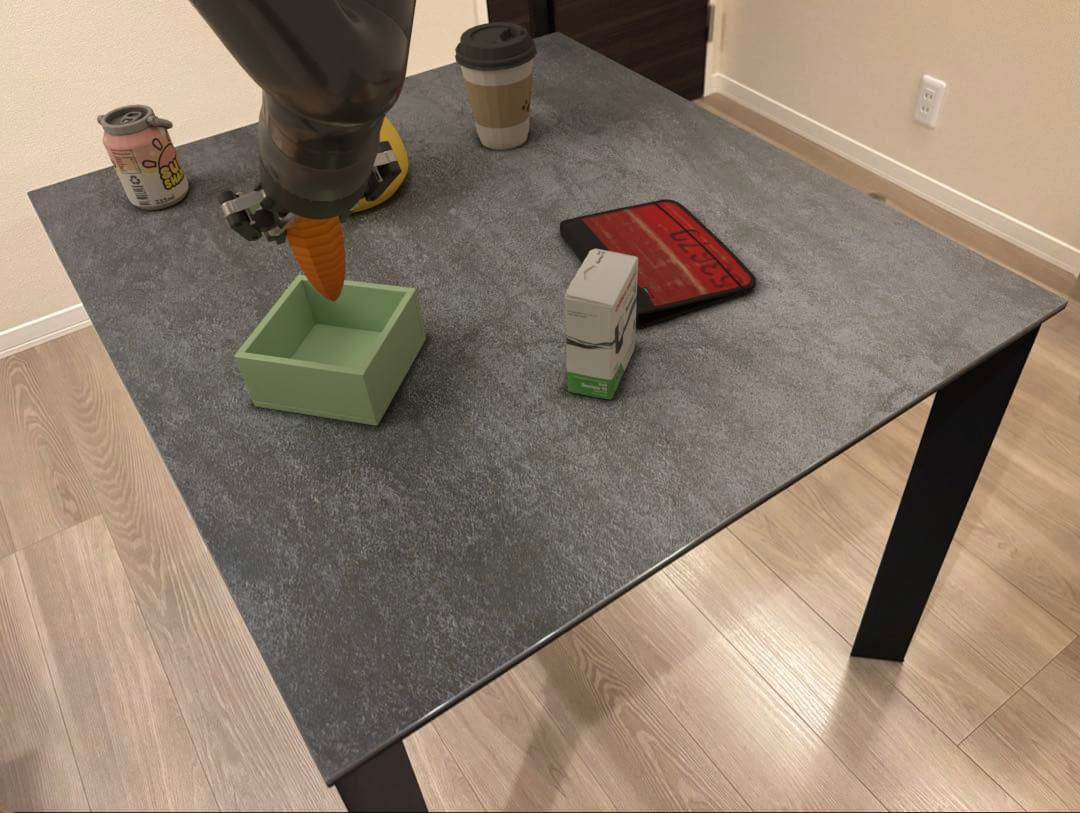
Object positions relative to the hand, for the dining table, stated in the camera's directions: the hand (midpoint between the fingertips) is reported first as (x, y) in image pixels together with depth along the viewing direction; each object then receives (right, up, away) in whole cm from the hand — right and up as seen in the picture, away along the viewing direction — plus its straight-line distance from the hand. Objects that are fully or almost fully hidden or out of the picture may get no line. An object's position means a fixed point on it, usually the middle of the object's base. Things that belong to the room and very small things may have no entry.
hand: (306, 222), depth 71 cm
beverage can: (-33, +14, +46) cm, 58 cm away
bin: (-1, -12, +17) cm, 20 cm away
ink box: (+26, -12, +15) cm, 32 cm away
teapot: (-7, +16, +45) cm, 48 cm away
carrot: (+1, -6, +4) cm, 8 cm away
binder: (+34, +1, +27) cm, 43 cm away
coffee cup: (+15, +24, +52) cm, 59 cm away
